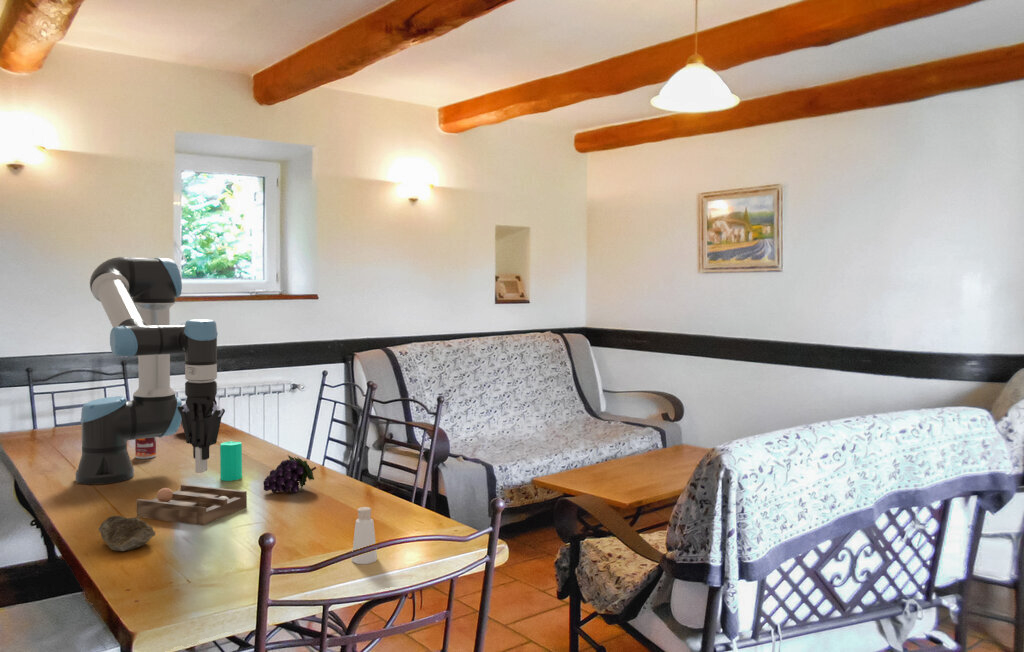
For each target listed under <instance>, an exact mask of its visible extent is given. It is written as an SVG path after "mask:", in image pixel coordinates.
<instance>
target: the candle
mask: <svg viewBox="0 0 1024 652" xmlns="http://www.w3.org/2000/svg"><path fill="white" fill-rule="evenodd" d="M219 449H220V450H219V455H220V457H219V458H220V459H219V460H220V461H219V463H220V467H219V468H220V469H219V470H220V472H219V473H220V474H219V475H220V477H219V478H220V480H221V481H224V482H233V480H234V481H238V479H239V480H241V479H242V478H243V443H242V442H241V441H232V440H229V441H225V442H221V443H220V444H219Z"/></svg>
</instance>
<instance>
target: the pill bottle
mask: <svg viewBox="0 0 1024 652" xmlns="http://www.w3.org/2000/svg"><path fill="white" fill-rule="evenodd" d="M134 445H135V449H134V451H135V453H134V454H135V455H134V456H135V459H141V460H143V459H144V460H145V459H152V458H155V457H157V456H156V455H157V437H153V438H143V439H135V442H134Z"/></svg>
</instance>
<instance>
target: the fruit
mask: <svg viewBox="0 0 1024 652" xmlns="http://www.w3.org/2000/svg"><path fill="white" fill-rule="evenodd" d="M287 457H288V459H285V460H283V459H282V461H281V462H280V464H279V465H277V466H276V468H275V469H271V470H270V471H269V475H267V476H266V477H265V478H264V481H263V491H264V492H268V491H271V492H272V493H274V494H276V493H277V492H278V493H280V492H283V493H288V492H289V491H290V492H291V493H293V494H296V493H298V492H299V490H300V489H303V487H304V486H306V482H307V479H308V480H309V482H311V481H313V480H315V477H314V473H313V471H315V470H316V469H317V467H316V466H314V467H312V468H311V467H310V465H309V464H308V462H307V460H303V459H301V458H299V457H293V456H290V455H287Z"/></svg>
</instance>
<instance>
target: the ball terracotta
mask: <svg viewBox="0 0 1024 652" xmlns="http://www.w3.org/2000/svg"><path fill="white" fill-rule="evenodd" d="M172 492H173V491H172V490H171V489H170V488H169V487H163V488H161V489H159V490H158V491H157V494H156V498H157V499H158V500H159V501H161V502H169V501H170V500H171V499H172V497H173V493H172Z"/></svg>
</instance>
